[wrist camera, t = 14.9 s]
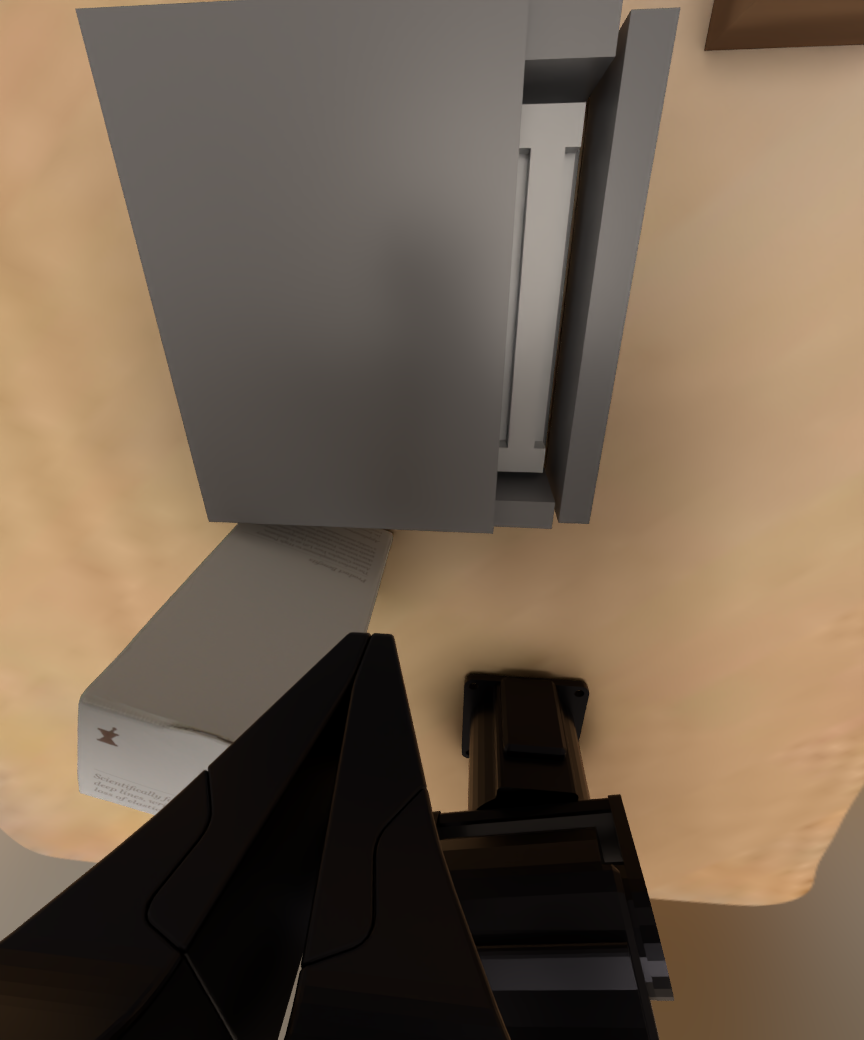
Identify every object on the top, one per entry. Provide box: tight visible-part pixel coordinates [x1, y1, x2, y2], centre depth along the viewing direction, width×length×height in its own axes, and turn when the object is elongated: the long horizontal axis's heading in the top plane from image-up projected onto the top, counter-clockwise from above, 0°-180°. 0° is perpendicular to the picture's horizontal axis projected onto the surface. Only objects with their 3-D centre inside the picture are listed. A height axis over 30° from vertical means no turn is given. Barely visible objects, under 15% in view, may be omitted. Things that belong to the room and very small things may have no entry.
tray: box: [497, 8, 680, 524], centre depth 15 cm, size 12×12×4 cm
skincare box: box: [77, 523, 393, 815], centre depth 17 cm, size 6×4×12 cm
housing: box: [76, 0, 623, 534], centre depth 15 cm, size 13×12×5 cm
